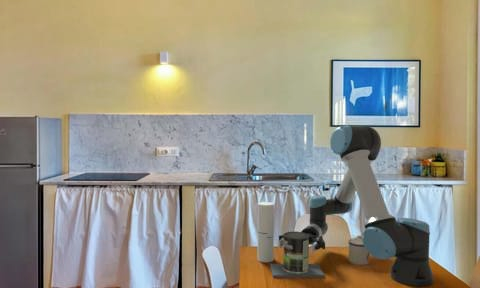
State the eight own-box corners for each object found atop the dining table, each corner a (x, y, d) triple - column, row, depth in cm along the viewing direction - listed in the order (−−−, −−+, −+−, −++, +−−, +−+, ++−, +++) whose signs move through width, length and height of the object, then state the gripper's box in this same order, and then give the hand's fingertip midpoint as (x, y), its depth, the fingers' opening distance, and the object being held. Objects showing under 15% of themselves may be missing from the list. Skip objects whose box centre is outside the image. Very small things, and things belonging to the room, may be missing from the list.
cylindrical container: (258, 256, 168) (258, 201, 167) (273, 257, 167) (274, 202, 166) (256, 261, 161) (257, 204, 160) (273, 262, 160) (273, 205, 159)
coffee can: (291, 275, 144) (292, 239, 143) (278, 266, 153) (278, 232, 152) (313, 271, 148) (314, 236, 147) (299, 263, 157) (300, 230, 157)
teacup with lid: (372, 266, 157) (372, 239, 157) (350, 265, 158) (350, 238, 158) (365, 256, 169) (366, 231, 168) (345, 255, 170) (345, 230, 170)
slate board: (317, 266, 156) (317, 263, 156) (324, 277, 144) (324, 275, 144) (270, 266, 156) (270, 263, 156) (273, 277, 144) (273, 275, 144)
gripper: (338, 246, 161) (325, 262, 142) (285, 238, 173) (266, 251, 154) (339, 229, 161) (325, 242, 142) (285, 222, 173) (266, 233, 154)
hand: (294, 247), depth 148 cm, fingers open, 13 cm apart
